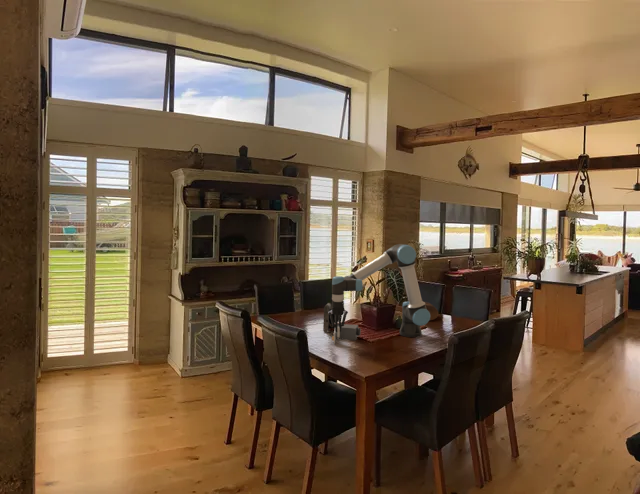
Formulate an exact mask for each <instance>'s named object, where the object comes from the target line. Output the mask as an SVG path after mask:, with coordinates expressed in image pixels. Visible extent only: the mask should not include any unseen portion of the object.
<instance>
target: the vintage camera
mask: <svg viewBox="0 0 640 494" xmlns="http://www.w3.org/2000/svg"><path fill="white" fill-rule="evenodd" d="M331 309H332V303H331V302H327V304H325V305H324V306H323V324H322V325H323V326H322V327H323V328H322V331H323V333H326V334H327V333H328V332H329V331H330V330H335V327H333V325H332V322H331V318H330V315H329V313H328V312H330V311H331ZM343 315H344V312H343V313H342V316H341V320H342V319H343ZM332 316H333V320H334V324H335V314H334V313H333V312H332ZM338 323H339V316H338Z"/></svg>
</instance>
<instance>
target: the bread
mask: <svg viewBox="0 0 640 494" xmlns="http://www.w3.org/2000/svg"><path fill="white" fill-rule="evenodd" d="M422 301H423V300H422ZM423 302H425V305H426V309H427V310H428V311H429V313H430V320H429V321H434V320H436V319H437V318H438V316H439V310H438V309H437V308H436V306H435V305H434V304H432V303H430V302H428V301H423Z"/></svg>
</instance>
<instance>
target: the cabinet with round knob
mask: <svg viewBox="0 0 640 494" xmlns="http://www.w3.org/2000/svg"><path fill="white" fill-rule="evenodd" d="M338 326H339V323H338ZM361 333H362V329H361V328H360V327H359V325H358V324H347V323H346V324H345V323H344V326H342V327H341V332H340V337H339V338H338V337H337V332H336V340H346V341H357V340H358V338H359V336H361ZM357 337H358V338H357Z"/></svg>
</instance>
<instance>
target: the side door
mask: <svg viewBox="0 0 640 494" xmlns="http://www.w3.org/2000/svg"><path fill="white" fill-rule="evenodd" d="M333 330H334V331H333V335H332V336H331V337H332V339H331V340H332V341H333V345H336V342H337V339H336V332H335V329H333Z"/></svg>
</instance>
